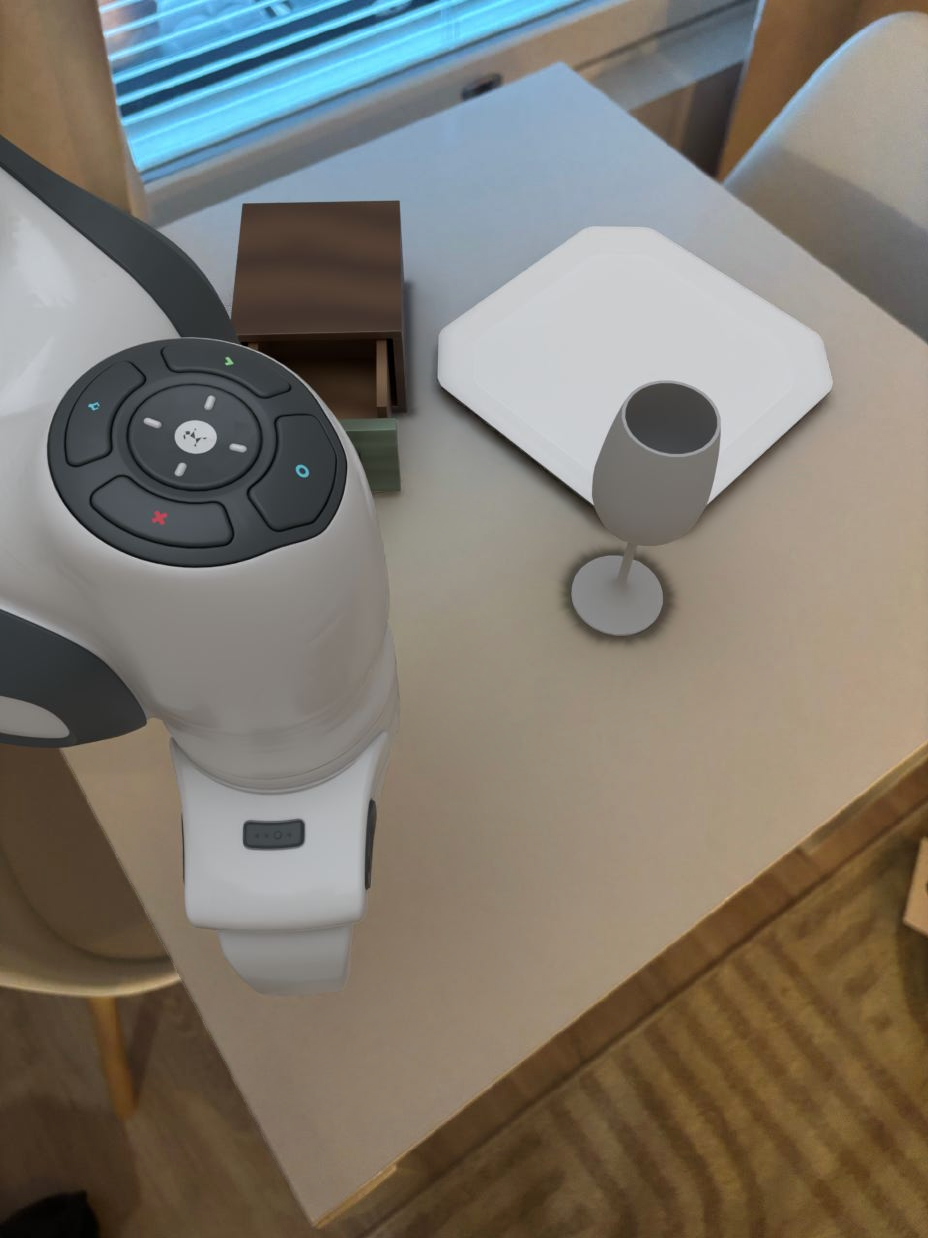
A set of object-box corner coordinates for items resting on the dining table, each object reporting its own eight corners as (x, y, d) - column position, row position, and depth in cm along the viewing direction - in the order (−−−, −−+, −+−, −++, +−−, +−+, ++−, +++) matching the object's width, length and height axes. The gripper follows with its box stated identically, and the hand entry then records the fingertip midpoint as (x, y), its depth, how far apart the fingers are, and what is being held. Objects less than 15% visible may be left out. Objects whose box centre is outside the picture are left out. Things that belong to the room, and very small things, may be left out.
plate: (613, 221, 95) (616, 202, 93) (854, 376, 85) (863, 359, 84) (403, 371, 85) (402, 353, 83) (650, 566, 75) (655, 551, 74)
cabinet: (407, 412, 83) (402, 330, 74) (251, 416, 82) (228, 334, 74) (404, 286, 90) (399, 199, 82) (261, 289, 90) (242, 202, 81)
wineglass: (638, 543, 77) (697, 356, 58) (681, 620, 73) (759, 447, 55) (553, 571, 75) (586, 388, 57) (593, 651, 72) (642, 484, 53)
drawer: (401, 538, 75) (396, 478, 69) (245, 543, 75) (225, 483, 68) (399, 360, 85) (394, 292, 78) (260, 363, 84) (243, 295, 77)
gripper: (227, 483, 42) (275, 628, 54) (178, 969, 32) (250, 1013, 44) (369, 480, 42) (385, 625, 54) (364, 962, 32) (384, 1007, 45)
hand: (324, 803), depth 49 cm, fingers closed on block, 4 cm apart
